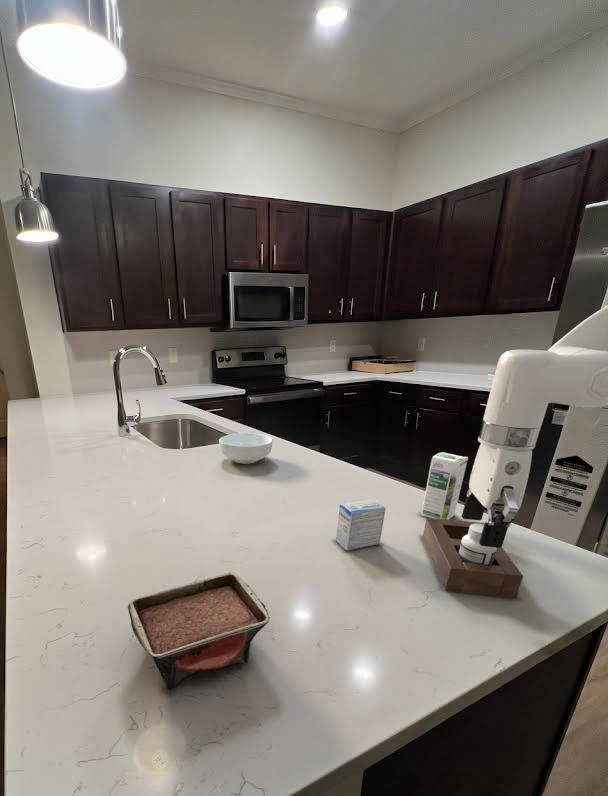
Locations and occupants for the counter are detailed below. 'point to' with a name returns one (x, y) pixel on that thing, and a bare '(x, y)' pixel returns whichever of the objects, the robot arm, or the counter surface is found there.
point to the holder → (468, 576)
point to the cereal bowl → (245, 447)
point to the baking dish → (198, 625)
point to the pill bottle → (476, 547)
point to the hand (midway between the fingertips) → (480, 531)
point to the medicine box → (360, 524)
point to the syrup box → (443, 486)
